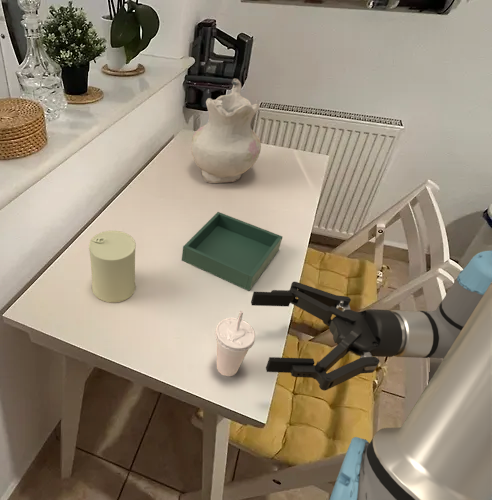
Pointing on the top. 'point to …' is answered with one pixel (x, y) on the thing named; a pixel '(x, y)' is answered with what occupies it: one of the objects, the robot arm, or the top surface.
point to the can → (112, 265)
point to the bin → (232, 250)
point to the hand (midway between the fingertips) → (259, 329)
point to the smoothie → (233, 343)
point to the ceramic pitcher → (226, 138)
